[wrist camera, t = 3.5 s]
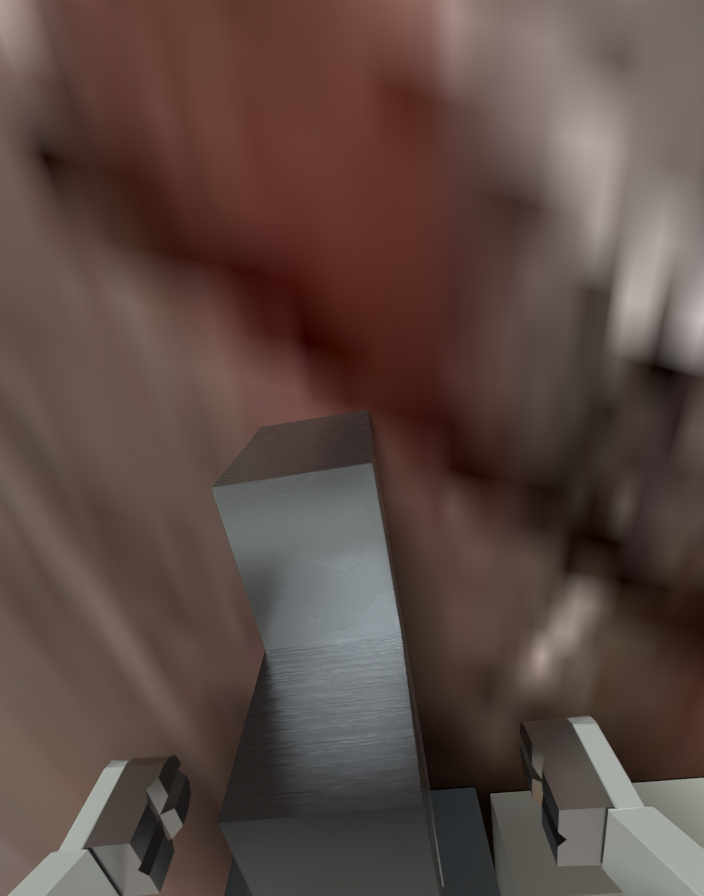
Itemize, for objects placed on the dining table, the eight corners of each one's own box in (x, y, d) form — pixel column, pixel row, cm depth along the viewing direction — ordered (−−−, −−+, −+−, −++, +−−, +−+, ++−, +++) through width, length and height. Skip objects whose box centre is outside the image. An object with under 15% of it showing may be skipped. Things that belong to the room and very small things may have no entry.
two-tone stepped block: (367, 407, 11) (380, 572, 4) (423, 744, 15) (471, 1074, 9) (263, 425, 11) (112, 607, 4) (349, 751, 15) (342, 1077, 9)
